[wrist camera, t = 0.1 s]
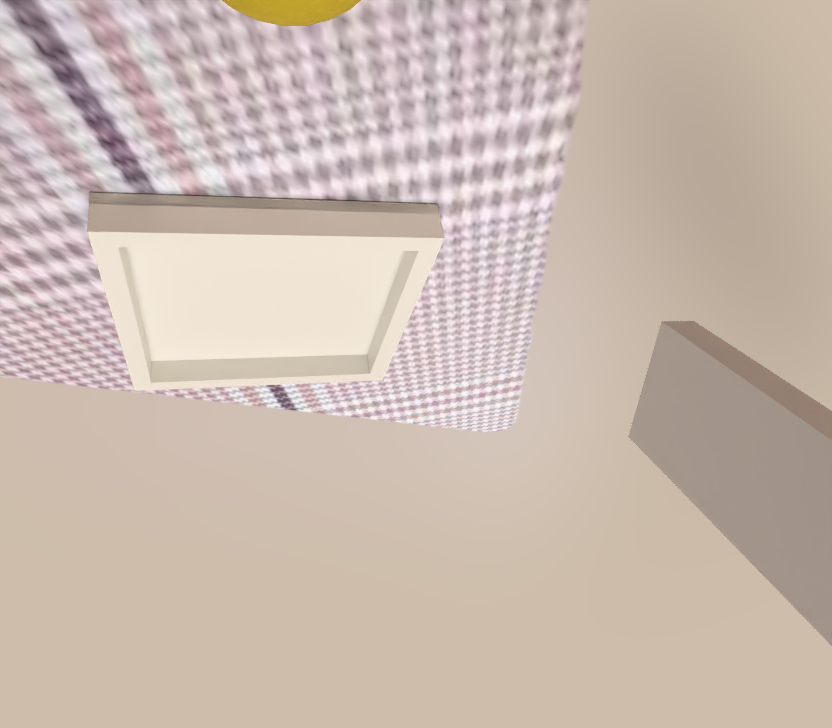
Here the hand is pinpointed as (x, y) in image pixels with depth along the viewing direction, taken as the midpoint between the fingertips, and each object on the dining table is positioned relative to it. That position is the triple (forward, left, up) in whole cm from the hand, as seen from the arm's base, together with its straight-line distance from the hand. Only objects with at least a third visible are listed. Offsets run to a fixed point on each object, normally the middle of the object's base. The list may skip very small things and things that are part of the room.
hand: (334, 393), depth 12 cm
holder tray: (+20, +1, -15) cm, 25 cm away
